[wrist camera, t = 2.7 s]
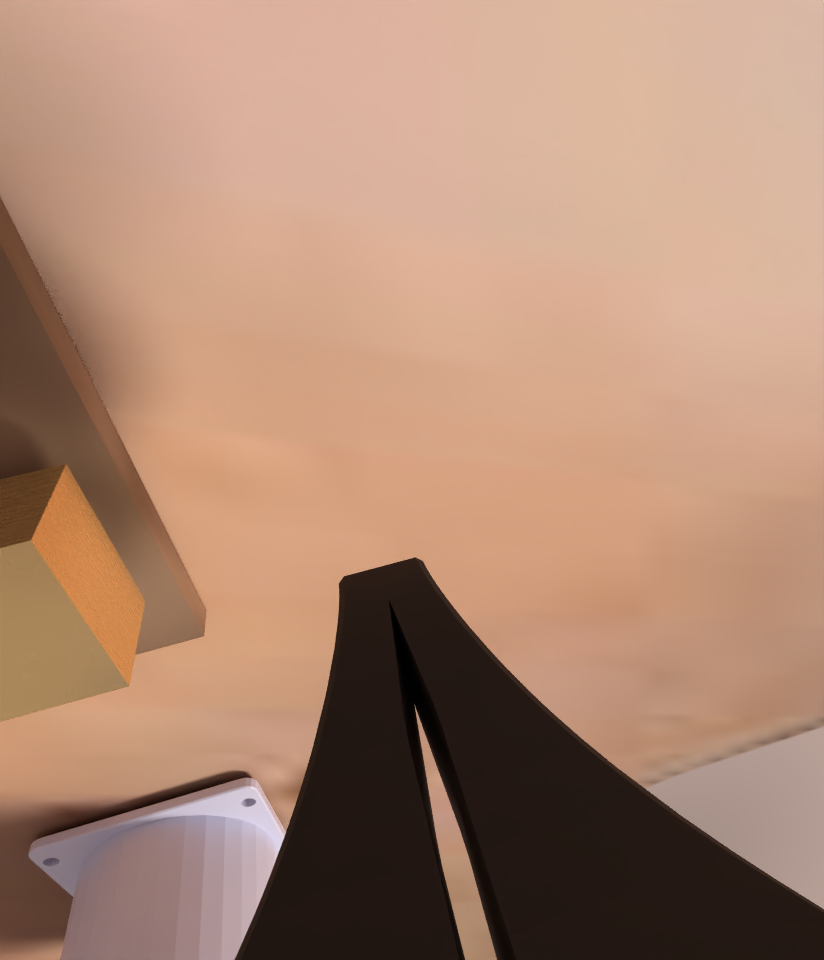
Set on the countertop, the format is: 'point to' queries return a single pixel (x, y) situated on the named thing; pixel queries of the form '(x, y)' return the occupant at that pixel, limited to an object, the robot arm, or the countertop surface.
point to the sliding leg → (60, 597)
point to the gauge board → (82, 444)
